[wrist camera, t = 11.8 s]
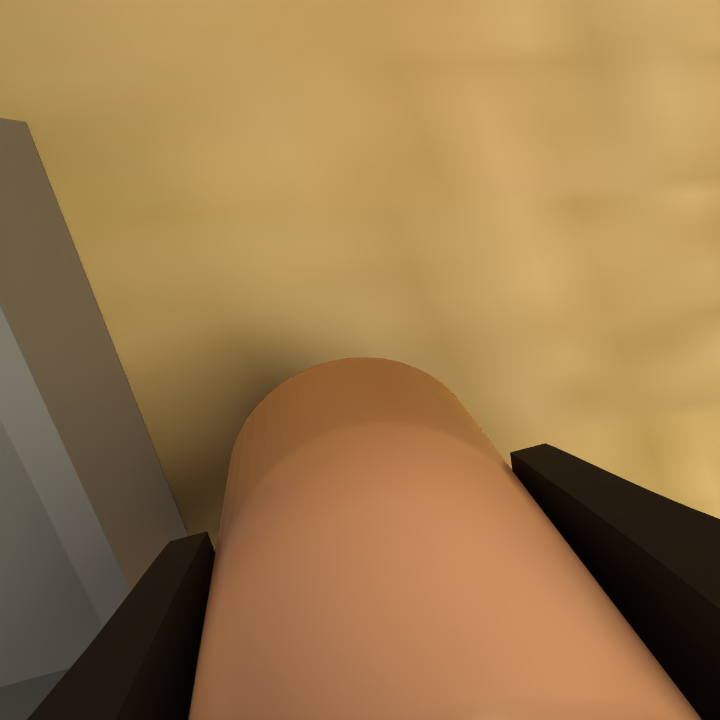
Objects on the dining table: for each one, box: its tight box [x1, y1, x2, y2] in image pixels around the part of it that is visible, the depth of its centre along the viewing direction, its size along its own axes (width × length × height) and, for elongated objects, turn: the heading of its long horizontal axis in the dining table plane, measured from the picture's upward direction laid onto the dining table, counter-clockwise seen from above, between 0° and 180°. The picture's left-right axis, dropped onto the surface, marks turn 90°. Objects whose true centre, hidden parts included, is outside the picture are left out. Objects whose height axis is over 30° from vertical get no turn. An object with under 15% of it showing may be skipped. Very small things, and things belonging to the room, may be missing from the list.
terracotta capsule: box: [188, 358, 702, 720], centre depth 8 cm, size 5×5×7 cm
